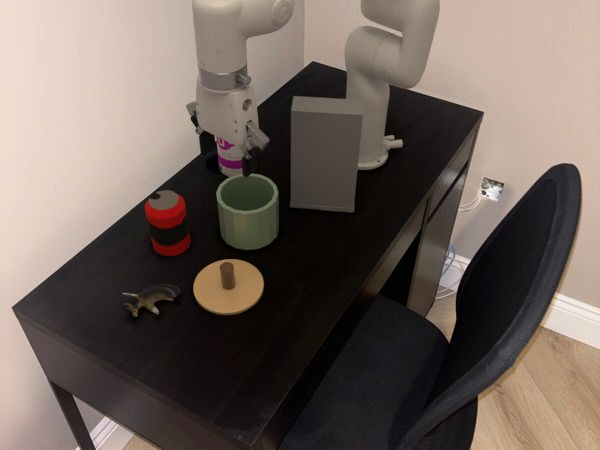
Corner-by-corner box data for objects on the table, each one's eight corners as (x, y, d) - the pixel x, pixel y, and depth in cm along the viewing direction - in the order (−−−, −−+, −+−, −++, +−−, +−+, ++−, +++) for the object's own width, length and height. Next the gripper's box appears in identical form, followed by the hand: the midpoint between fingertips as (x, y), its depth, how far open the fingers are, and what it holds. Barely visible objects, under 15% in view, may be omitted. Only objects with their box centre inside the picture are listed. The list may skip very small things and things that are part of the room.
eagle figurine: (148, 333, 105) (188, 301, 109) (124, 303, 103) (166, 270, 106) (136, 323, 112) (175, 293, 115) (114, 294, 109) (154, 264, 113)
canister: (273, 208, 131) (272, 170, 124) (283, 247, 123) (282, 209, 115) (218, 215, 129) (213, 177, 122) (224, 255, 121) (219, 216, 113)
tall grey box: (354, 194, 134) (364, 97, 117) (353, 213, 130) (363, 115, 113) (292, 190, 135) (293, 93, 118) (289, 209, 131) (290, 111, 113)
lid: (258, 259, 120) (257, 237, 116) (269, 311, 111) (268, 289, 106) (191, 268, 118) (187, 246, 114) (196, 322, 109) (192, 300, 104)
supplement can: (239, 184, 137) (234, 129, 126) (212, 170, 140) (206, 115, 130) (262, 166, 141) (259, 112, 131) (235, 153, 145) (231, 99, 134)
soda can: (168, 226, 126) (159, 182, 118) (198, 238, 124) (191, 194, 116) (145, 249, 122) (135, 205, 113) (176, 262, 119) (167, 218, 111)
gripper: (282, 81, 91) (281, 171, 103) (199, 47, 99) (207, 134, 110) (249, 101, 87) (252, 193, 99) (165, 64, 94) (177, 153, 106)
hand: (228, 162), depth 105 cm, fingers open, 9 cm apart
